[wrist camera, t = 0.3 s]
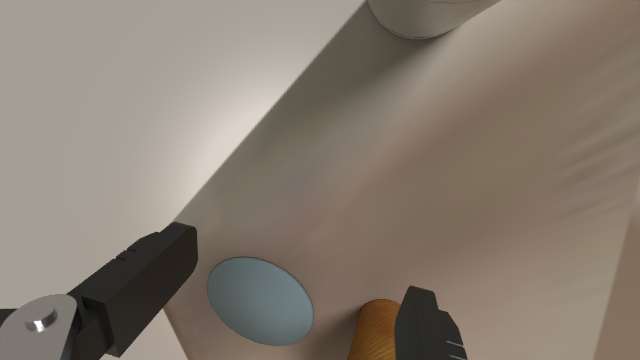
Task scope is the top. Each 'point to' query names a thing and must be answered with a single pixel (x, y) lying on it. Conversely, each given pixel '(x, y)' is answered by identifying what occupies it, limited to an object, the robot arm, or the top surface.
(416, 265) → the top surface
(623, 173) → the top surface
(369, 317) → the disposable coffee cup
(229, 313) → the mat
